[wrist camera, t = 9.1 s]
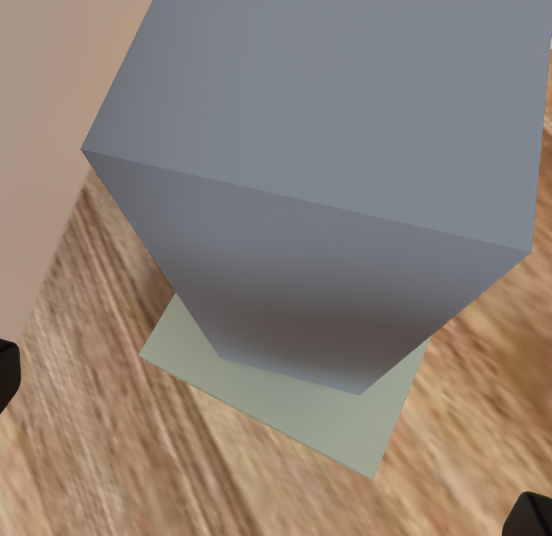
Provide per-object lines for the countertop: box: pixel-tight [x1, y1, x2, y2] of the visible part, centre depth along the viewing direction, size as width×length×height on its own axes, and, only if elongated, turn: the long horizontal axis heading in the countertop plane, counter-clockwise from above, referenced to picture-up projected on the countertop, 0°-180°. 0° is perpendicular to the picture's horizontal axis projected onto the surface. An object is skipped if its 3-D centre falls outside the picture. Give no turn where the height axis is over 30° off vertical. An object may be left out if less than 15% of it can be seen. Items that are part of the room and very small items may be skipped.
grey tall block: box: [81, 0, 552, 395], centre depth 12 cm, size 5×5×12 cm
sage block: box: [138, 293, 431, 479], centre depth 20 cm, size 9×9×4 cm
